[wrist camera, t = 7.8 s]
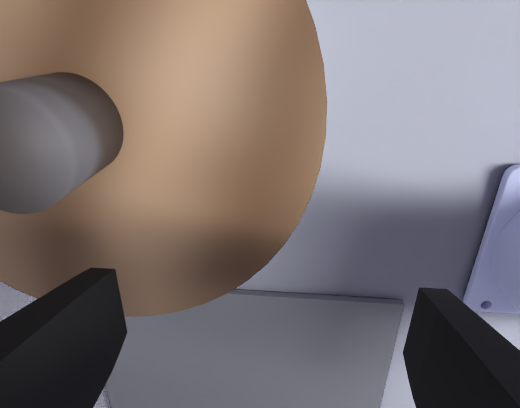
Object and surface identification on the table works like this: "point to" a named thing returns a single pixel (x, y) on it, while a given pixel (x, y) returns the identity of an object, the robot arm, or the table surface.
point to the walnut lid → (155, 142)
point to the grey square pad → (259, 353)
